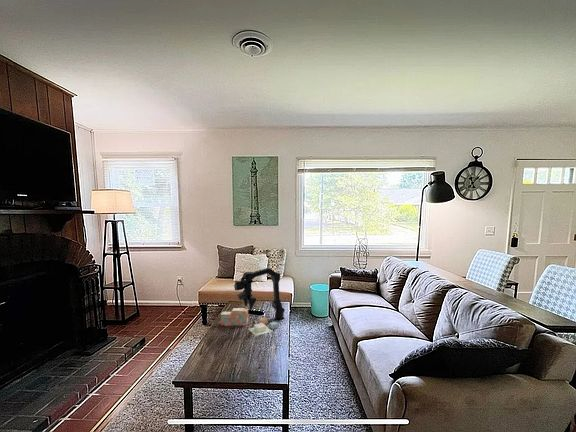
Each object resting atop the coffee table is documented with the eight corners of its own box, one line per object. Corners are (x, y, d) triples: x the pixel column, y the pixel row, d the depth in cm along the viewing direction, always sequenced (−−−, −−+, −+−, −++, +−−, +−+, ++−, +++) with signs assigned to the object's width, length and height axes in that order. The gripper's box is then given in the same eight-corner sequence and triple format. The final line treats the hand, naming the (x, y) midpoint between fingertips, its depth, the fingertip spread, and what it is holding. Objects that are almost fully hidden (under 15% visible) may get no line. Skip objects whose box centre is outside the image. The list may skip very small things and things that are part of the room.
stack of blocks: (220, 325, 219) (220, 310, 219) (223, 322, 226) (222, 307, 225) (246, 326, 217) (246, 311, 217) (248, 323, 224) (248, 308, 223)
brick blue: (275, 326, 217) (275, 321, 217) (278, 328, 212) (278, 323, 212) (269, 328, 214) (269, 322, 214) (272, 330, 210) (272, 325, 210)
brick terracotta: (264, 322, 225) (264, 317, 225) (267, 324, 221) (267, 319, 221) (259, 323, 223) (259, 318, 223) (262, 325, 218) (262, 320, 218)
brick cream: (262, 327, 214) (262, 322, 214) (266, 330, 208) (266, 325, 208) (254, 329, 210) (253, 324, 210) (257, 332, 204) (257, 328, 204)
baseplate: (264, 325, 219) (264, 324, 219) (272, 331, 207) (272, 330, 207) (247, 329, 211) (247, 328, 211) (255, 336, 200) (255, 335, 199)
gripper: (233, 287, 220) (234, 306, 220) (242, 293, 204) (243, 314, 205) (246, 285, 226) (247, 304, 226) (256, 290, 210) (256, 310, 210)
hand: (248, 308), depth 217 cm, fingers open, 9 cm apart
